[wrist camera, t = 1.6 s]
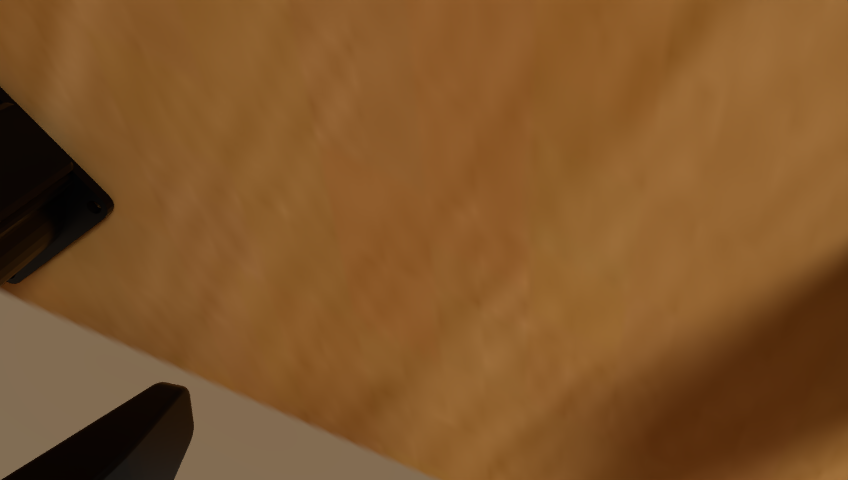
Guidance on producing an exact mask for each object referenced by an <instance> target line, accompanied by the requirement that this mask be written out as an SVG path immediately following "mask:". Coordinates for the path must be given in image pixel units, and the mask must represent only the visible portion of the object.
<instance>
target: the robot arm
mask: <svg viewBox="0 0 848 480" xmlns="http://www.w3.org/2000/svg"><path fill="white" fill-rule="evenodd" d="M94 201H95V202H96V203H98V204H99V206H100V207H101V208H99V207H98V206H96V205H95V203H94ZM113 208H114V204H113V201H112V199H111V198H110V196H109V195H108V194H107V193H106V192H105V191H104V190H103V189H102V188H101V187H100V186H99V185H98V184H97V183H96V182H95V181H94V180H93V179H92V178H91V177H90V176H89V175H88V174H87V173H86V172H85V171H84V170H83V169H82V168H81V167H80V166H79V165H78V164H77V163H76V162H75V161H74V160H73V159H72V158H71V157H70V156H69V155H68V154H67V153H66V152H65V151H64V150H63V149H62V148H61V147H60V146H59V145H58V144H57V143H56V142H55V141H54V140H53V139H52V138H51V137H50V136H49V135H48V134H47V133H46V132H45V131H44V130H43V129H42V128H41V127H40V126H39V125H38V124H37V123H36V122H35V121H34V120H33V119H32V118H31V117H30V116H29V115H28V114H27V113H26V112H25V111H24V110H23V109H22V108H21V107H20V106H19V105H18V104H17V103H16V102H15V101H14V100H13V99H12V98H11V97H10V96H9V95H8V94H7V93H6V92H5V91H4V90H3V89H2V88H1V87H0V286H2V285H3V284H4V283H5V282H9V283H12V284H16V283H19V282H20V281H22V280H23V279H24V278H26V277H27V276H28V275H30V274H31V273H32V272H34V271H35V270H36V269H38V268H39V267H40V266H42V265H43V264H44V263H46V262H47V261H48V260H50V259H51V258H52V257H54V256H55V255H56V254H58V253H59V252H60V251H62V250H63V249H64V248H66V247H67V246H68V245H69V244H71V243H72V242H73V241H75V240H76V239H77V238H79V237H80V236H81V235H83V234H84V233H85V232H87V231H88V230H89V229H91V228H92V227H93V226H95V225H96V224H97V223H99V222H100V221H101V220H103V219H104V218H105V217H106V216H108V215H109V214H110V213H111V212H112V210H113ZM193 430H194V422H193V416H192V408H191V400H190V394H189V391H188V389H187V388H186V387H184V386H180V385H175V384H170V383H166V382H160V383H157V384H154V385H152V386H151V387H149V388H148V389H146V390H144V391H143V392H141V393H140V394H138V395H137V396H135V397H133V398H132V399H130V400H129V401H127V402H125V403H124V404H122V405H121V406H119V407H117V408H116V409H114V410H112V411H111V412H109V413H108V414H106V415H104V416H103V417H101V418H100V419H98V420H96V421H95V422H93V423H92V424H90V425H88V426H87V427H85V428H84V429H82V430H80V431H79V432H77V433H75V434H74V435H72V436H71V437H69V438H67V439H66V440H64V441H63V442H61V443H59V444H58V445H56V446H55V447H53V448H51V449H50V450H48V451H47V452H45V453H44V454H42V455H40V456H39V457H37V458H35V459H34V460H32V461H31V462H29V463H27V464H26V465H24V466H23V467H21V468H19V469H18V470H16V471H15V472H13V473H11V474H10V475H8V476H7V477H5V478H3V479H2V480H174V478H175V476H176V474H177V471H178V469H179V467H180V464H181V462H182V460H183V458H184V455H185V453H186V451H187V448H188V446H189V444H190V441H191V438H192V435H193Z"/></svg>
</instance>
